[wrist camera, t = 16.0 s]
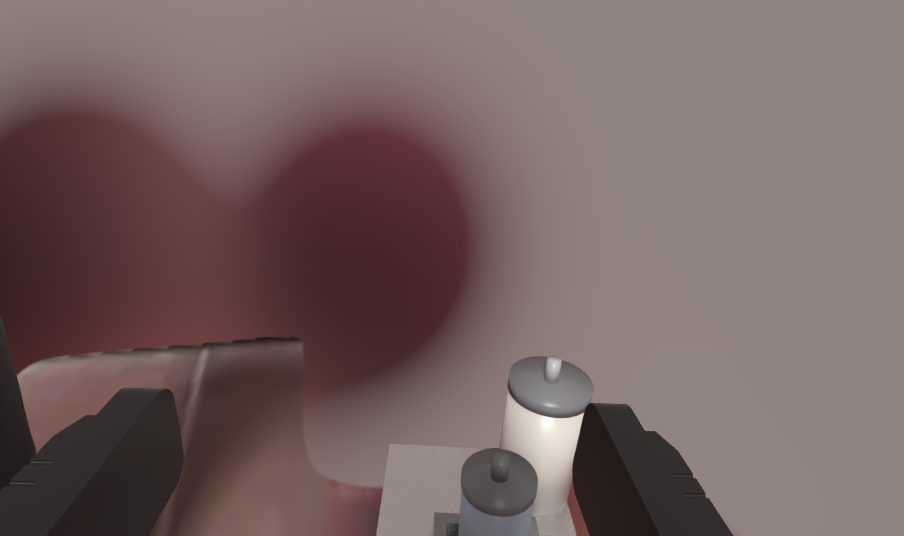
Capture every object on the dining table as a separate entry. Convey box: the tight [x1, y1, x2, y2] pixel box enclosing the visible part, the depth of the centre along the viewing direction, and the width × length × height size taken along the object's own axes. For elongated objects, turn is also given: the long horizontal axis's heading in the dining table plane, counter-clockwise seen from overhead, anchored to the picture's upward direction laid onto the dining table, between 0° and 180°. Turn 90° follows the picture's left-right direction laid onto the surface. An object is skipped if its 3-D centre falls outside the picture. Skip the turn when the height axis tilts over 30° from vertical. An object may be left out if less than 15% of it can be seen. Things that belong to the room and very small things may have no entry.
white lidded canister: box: [500, 356, 594, 515], centre depth 44 cm, size 7×7×14 cm
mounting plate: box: [376, 444, 576, 536], centre depth 41 cm, size 17×21×2 cm
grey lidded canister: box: [458, 448, 538, 536], centre depth 35 cm, size 5×5×12 cm
